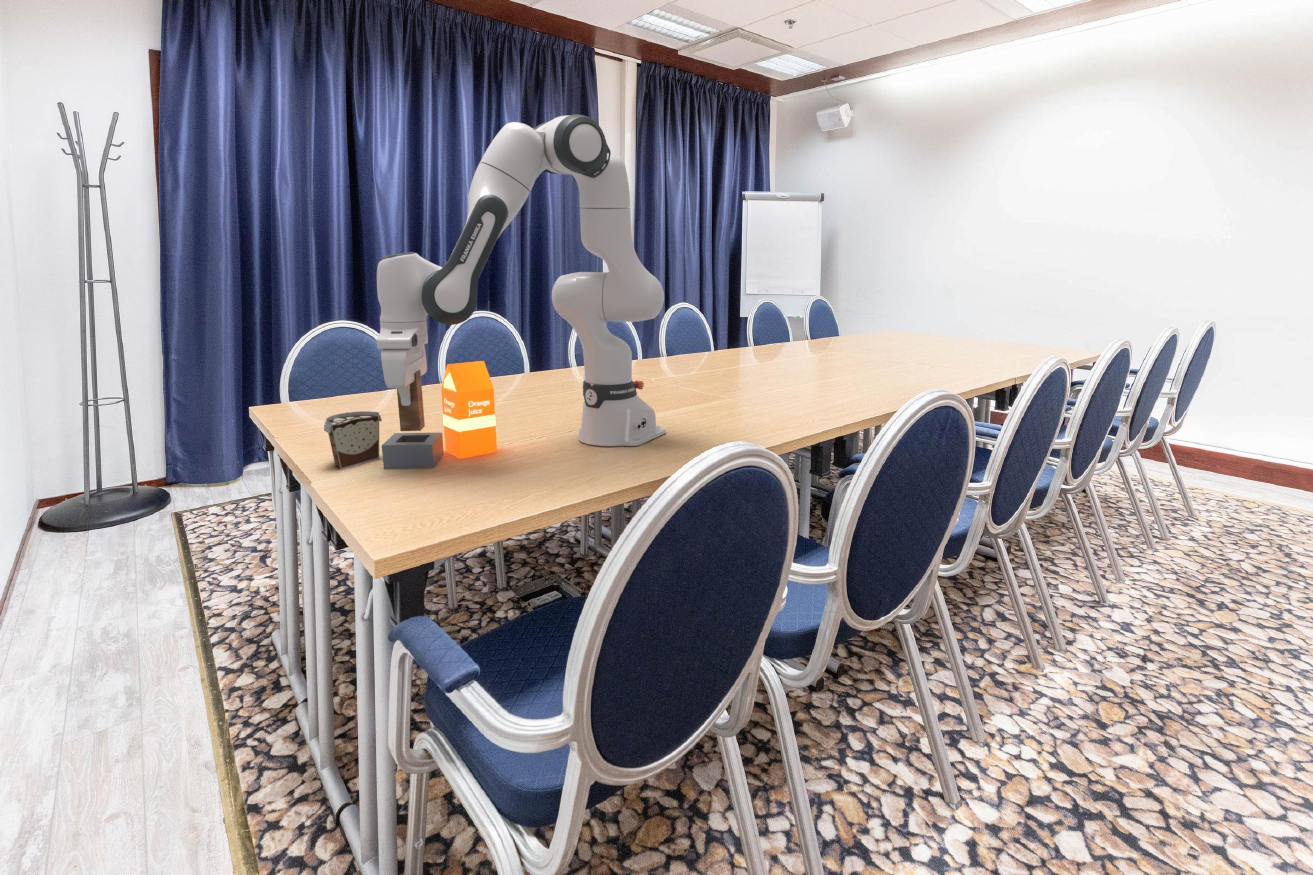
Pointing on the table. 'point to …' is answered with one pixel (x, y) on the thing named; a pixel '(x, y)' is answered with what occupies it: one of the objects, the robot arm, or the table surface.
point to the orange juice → (468, 410)
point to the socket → (412, 450)
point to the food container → (353, 437)
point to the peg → (412, 407)
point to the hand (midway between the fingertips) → (410, 402)
